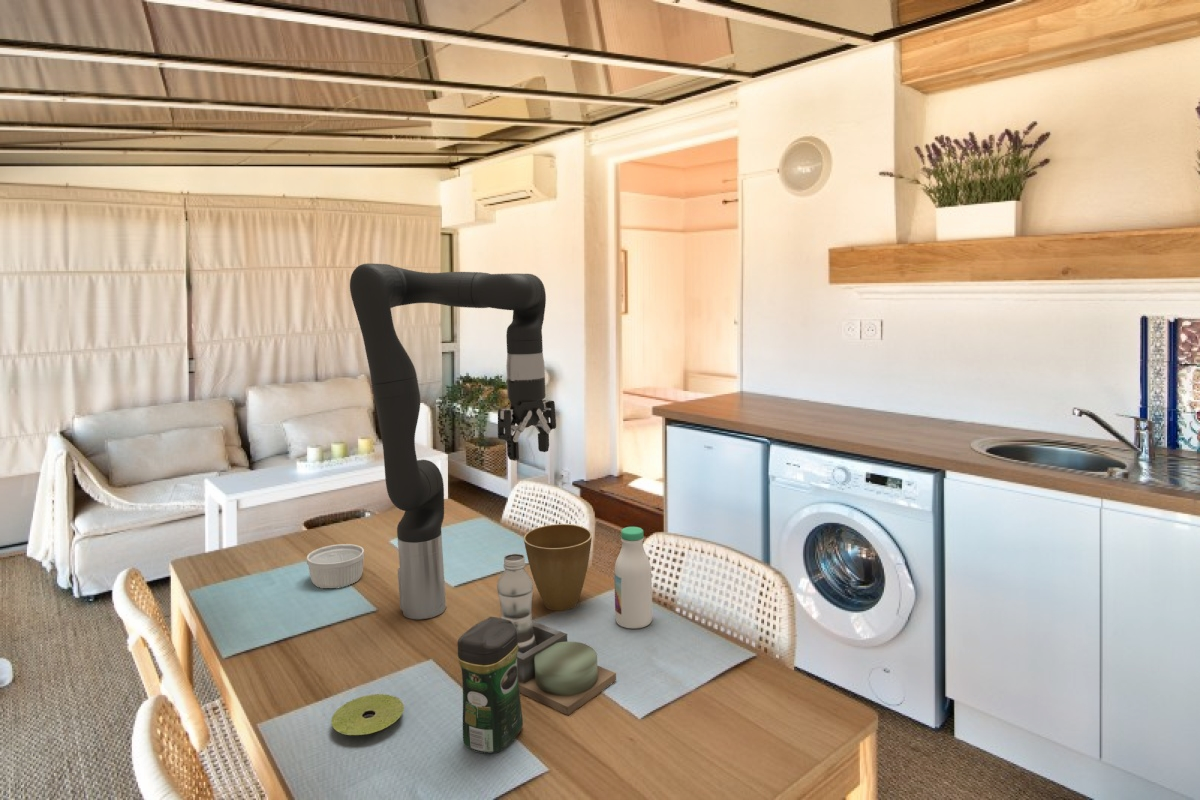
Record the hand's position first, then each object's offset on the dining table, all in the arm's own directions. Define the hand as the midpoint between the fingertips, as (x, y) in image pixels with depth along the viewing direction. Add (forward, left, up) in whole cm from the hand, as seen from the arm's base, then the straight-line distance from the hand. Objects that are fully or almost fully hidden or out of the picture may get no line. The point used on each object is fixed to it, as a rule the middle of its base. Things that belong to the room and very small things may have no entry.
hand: (528, 455), depth 145 cm
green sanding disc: (+2, -42, -36) cm, 55 cm away
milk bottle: (+16, +13, -36) cm, 42 cm away
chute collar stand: (+15, -14, -36) cm, 42 cm away
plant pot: (-2, +10, -36) cm, 38 cm away
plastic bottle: (+10, -15, -35) cm, 39 cm away
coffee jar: (+21, -32, -36) cm, 53 cm away
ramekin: (-55, -12, -36) cm, 67 cm away
